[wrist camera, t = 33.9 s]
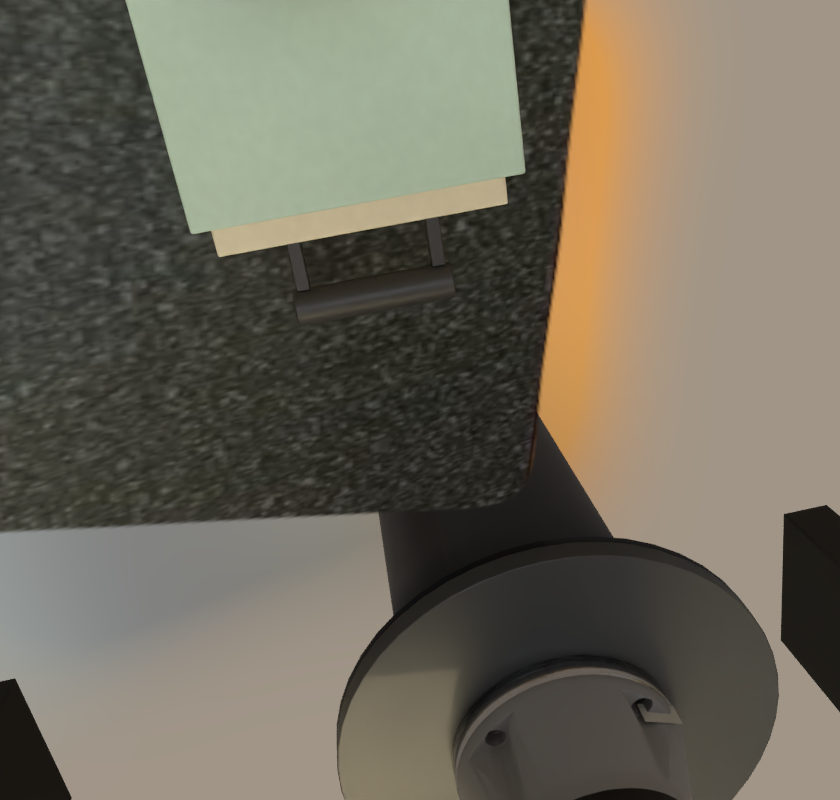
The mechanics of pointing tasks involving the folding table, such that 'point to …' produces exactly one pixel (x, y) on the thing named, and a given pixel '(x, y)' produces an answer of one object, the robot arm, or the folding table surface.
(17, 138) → the folding table surface
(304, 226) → the drawer
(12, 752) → the robot arm
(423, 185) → the cabinet
